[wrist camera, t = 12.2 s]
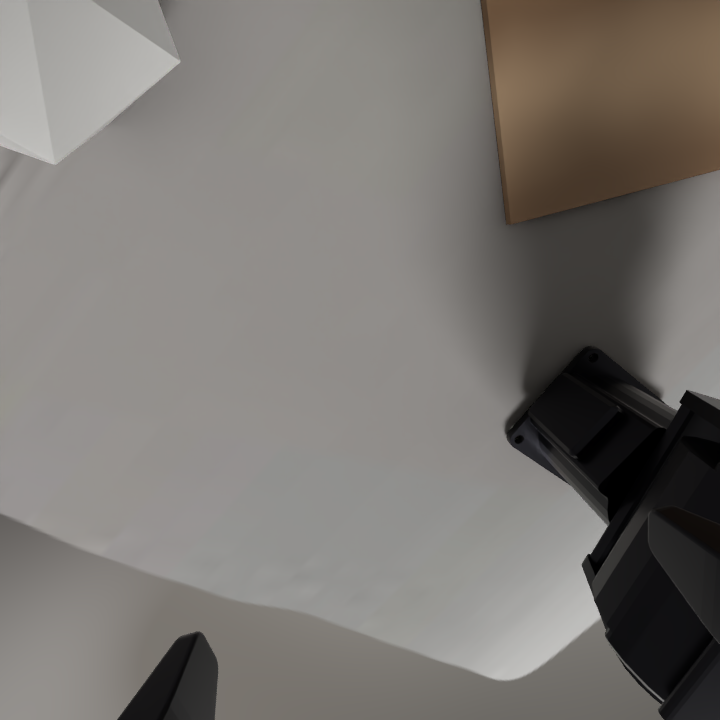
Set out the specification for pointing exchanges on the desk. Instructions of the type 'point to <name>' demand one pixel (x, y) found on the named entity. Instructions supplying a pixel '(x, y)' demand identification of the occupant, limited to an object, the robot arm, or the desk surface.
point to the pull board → (601, 97)
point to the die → (75, 68)
